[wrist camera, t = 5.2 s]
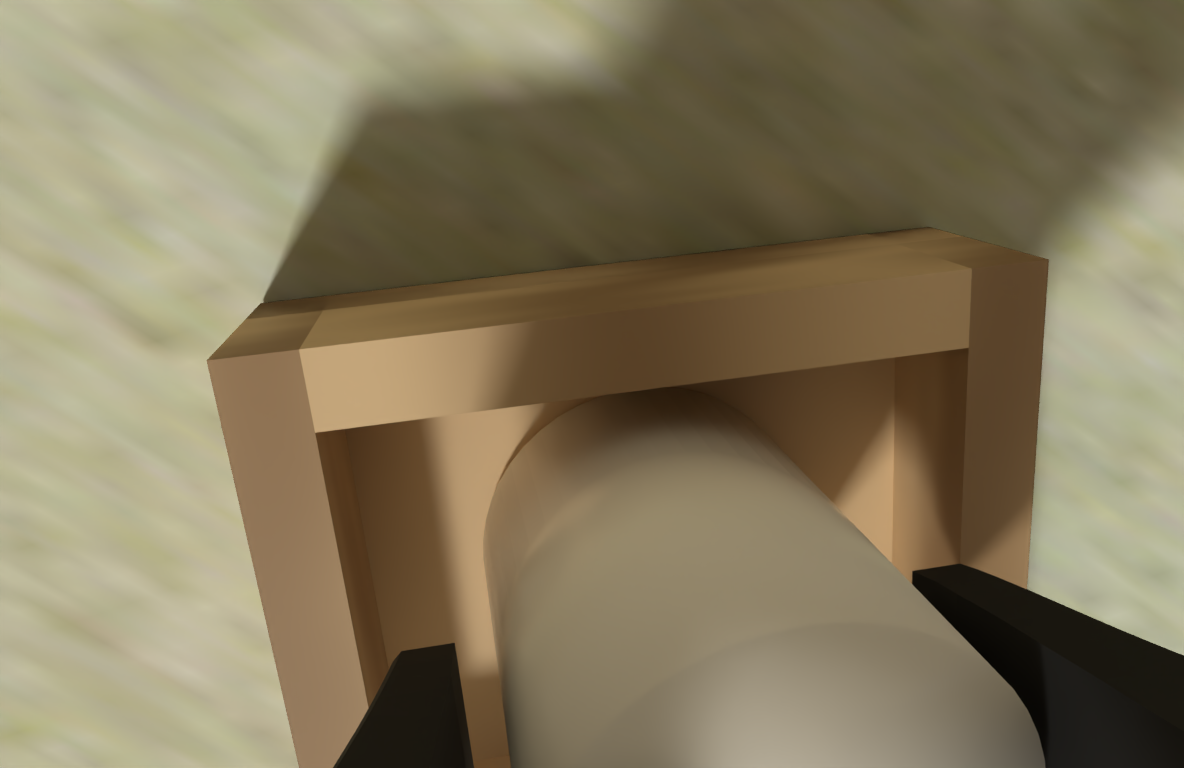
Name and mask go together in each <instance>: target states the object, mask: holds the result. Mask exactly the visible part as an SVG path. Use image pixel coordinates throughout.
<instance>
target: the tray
mask: <svg viewBox="0 0 1184 768" xmlns="http://www.w3.org/2000/svg"><path fill="white" fill-rule="evenodd" d="M1048 263H1049V259H1045V258H1041V257H1038V256H1034V255H1030V254H1027V253H1023V252H1019V251H1015V250H1012V249H1008V248H1004V247H1001V246H997V245H993V244H990V243H986V242H982V241H979V240H975V239H971V238H968V237H964V236H960V235H956V234H953V233H949V232H945V231H942V230H938V229H934V228H931V227H925V228H916V229H907V230H899V231H890V232H881V233H872V234H864V235H855V236H846V237H837V238H829V239H820V240H811V241H802V242H794V243H785V244H776V245H767V246H759V247H750V248H741V249H732V250H723V251H715V252H706V253H697V254H688V255H680V256H671V257H662V258H653V259H645V260H636V261H627V262H618V263H610V264H601V265H592V266H583V267H575V268H566V269H557V270H548V271H540V272H531V273H522V274H513V275H505V276H496V277H487V278H478V279H470V280H461V281H452V282H443V283H434V284H426V285H417V286H408V287H399V288H391V289H382V290H373V291H364V292H356V293H347V294H338V295H329V296H321V297H312V298H303V299H294V300H286V301H277V302H268V303H261V304H260V305H259V306H258V307H257V308H256V309H255V310H254V311H253V312H252V313H251V314H250V315H249V316H248V317H247V318H246V320H245V321H244V322H243V323H242V324H241V325H240V326H239V327H238V328H237V329H236V330H235V331H234V332H233V333H232V334H231V335H230V336H229V338H228V339H227V340H226V341H225V342H224V343H223V344H222V345H221V346H220V347H219V348H218V349H217V350H216V351H215V352H214V353H213V354H212V356H211V357H210V358H209V359H208V360H207V364H208V368H209V373H210V377H211V382H212V386H213V390H214V395H215V399H216V404H217V408H218V412H219V417H220V421H221V426H222V430H223V434H224V439H225V443H226V448H227V452H228V456H229V461H230V465H231V470H232V474H233V478H234V483H235V487H236V492H237V496H238V500H239V505H240V509H241V514H242V518H243V522H244V527H245V531H246V536H247V540H248V544H249V549H250V553H251V558H252V562H253V566H254V571H255V575H256V580H257V584H258V588H259V593H260V597H261V602H262V606H263V610H264V615H265V619H266V624H267V628H268V632H269V637H270V641H271V646H272V650H273V654H274V659H275V663H276V668H277V672H278V676H279V681H280V685H281V690H282V694H283V698H284V703H285V707H286V712H287V716H288V720H289V725H290V729H291V734H292V738H293V742H294V747H295V751H296V756H297V760H298V764H299V768H333V767H334V765H335V764H336V762H337V760H338V759H339V757H340V755H341V754H342V752H343V751H344V749H345V747H346V746H347V744H348V742H349V741H350V739H351V738H352V736H353V734H354V733H355V731H356V729H357V728H358V726H359V724H360V722H361V721H362V719H363V717H364V715H365V714H366V712H367V710H368V708H369V707H370V705H371V703H372V701H373V699H374V697H375V696H376V694H377V692H378V690H379V688H380V686H381V684H382V682H383V680H384V678H385V677H386V675H387V673H388V671H389V668H390V666H391V664H392V662H393V661H394V660H395V658H396V657H397V656H398V655H399V654H400V652H401V651H405V650H411V649H418V648H424V647H430V646H437V645H443V644H450V643H455V648H456V654H457V661H458V667H459V674H460V680H461V686H462V693H463V699H464V706H465V712H466V719H467V725H468V731H469V738H470V744H471V751H472V757H473V764H474V768H511V763H510V755H509V748H508V740H507V733H506V725H505V718H504V710H503V703H502V695H501V688H500V680H499V672H498V665H497V657H496V650H495V642H494V635H493V627H492V620H491V612H490V605H489V597H488V590H487V582H486V575H485V567H484V560H483V536H484V529H485V521H486V517H487V513H488V510H489V506H490V503H491V500H492V497H493V495H494V493H495V490H496V488H497V486H498V483H499V481H500V480H501V478H502V476H503V475H504V473H505V471H506V470H507V468H508V466H509V465H510V463H511V462H512V461H513V459H514V458H515V457H516V456H517V454H518V453H519V452H520V450H521V449H522V448H523V447H524V446H525V445H526V444H527V443H528V442H529V441H530V440H531V439H532V438H533V437H534V436H535V435H536V434H537V433H538V432H539V431H540V430H541V429H543V428H544V427H545V426H547V425H548V424H549V423H551V422H552V421H553V420H555V419H556V418H557V417H559V416H561V415H562V414H564V413H566V412H568V411H569V410H571V409H573V408H574V407H576V406H578V405H581V404H583V403H585V402H588V401H590V400H592V399H595V398H597V397H600V396H604V395H609V394H617V393H625V392H632V391H640V390H648V389H656V388H663V387H668V388H679V389H686V390H690V391H694V392H699V393H703V394H706V395H708V396H711V397H713V398H716V399H719V400H721V401H723V402H725V403H727V404H729V405H731V406H732V407H734V408H736V409H738V410H739V411H741V412H742V413H743V414H745V415H746V416H747V417H749V418H750V419H751V420H753V421H754V422H755V423H756V424H757V425H758V426H759V427H760V428H761V429H762V430H763V431H764V432H765V433H766V434H767V435H768V436H769V437H770V438H771V439H772V440H773V441H774V442H775V444H776V445H777V446H778V447H779V448H780V449H781V450H782V451H783V452H784V453H785V454H786V455H787V456H788V457H789V458H790V459H791V460H792V461H793V462H794V463H795V464H796V465H797V466H798V467H799V468H800V469H801V470H802V471H803V472H804V473H805V474H806V475H807V477H808V478H809V479H810V480H811V481H812V482H813V483H814V484H815V485H816V486H817V487H818V488H819V489H820V490H821V491H822V492H823V493H824V494H825V495H826V496H827V497H828V498H829V499H830V500H831V501H832V502H833V503H834V504H835V505H836V506H837V507H838V508H839V510H840V511H841V512H842V513H843V514H844V515H845V516H846V517H847V518H848V519H849V520H850V521H851V522H852V523H853V524H854V525H855V526H856V527H857V528H858V529H859V530H860V531H861V532H862V533H863V534H864V535H865V536H866V537H867V538H868V539H869V540H870V541H871V542H872V544H873V545H874V546H875V547H876V548H877V549H878V550H879V551H880V552H881V553H882V554H883V555H884V556H885V557H886V558H887V559H888V560H889V561H890V562H891V563H892V564H893V565H894V566H895V567H896V568H897V569H898V570H899V571H900V572H901V573H902V574H903V575H904V577H905V578H906V579H907V580H908V581H909V582H910V583H911V584H912V571H915V570H921V569H928V568H934V567H941V566H947V565H953V564H963V565H966V566H969V567H972V568H975V569H978V570H981V571H983V572H986V573H988V574H991V575H993V576H996V577H999V578H1001V579H1003V580H1006V581H1008V582H1010V583H1013V584H1015V585H1018V586H1020V587H1022V588H1025V589H1027V579H1028V564H1029V549H1030V534H1031V519H1032V504H1033V489H1034V473H1035V458H1036V443H1037V428H1038V413H1039V398H1040V383H1041V368H1042V353H1043V338H1044V323H1045V308H1046V293H1047V278H1048Z"/></svg>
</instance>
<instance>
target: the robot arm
mask: <svg viewBox="0 0 1184 768" xmlns="http://www.w3.org/2000/svg"><path fill="white" fill-rule="evenodd" d="M912 585H913V586H914V587H915V588H916V589H917V590H918V591H919V592H920V593H921V594H922V595H923V596H924V597H925V598H926V599H927V600H928V601H929V602H930V603H931V604H932V605H933V606H934V607H935V608H936V610H937V611H938V612H939V613H940V614H941V615H942V616H943V617H944V618H945V619H946V620H947V621H948V622H949V623H950V624H951V625H952V626H953V627H954V628H955V629H956V630H957V631H958V632H959V633H960V634H961V635H962V636H963V637H964V638H965V639H966V640H967V641H968V643H969V644H970V645H971V646H972V647H973V648H974V649H975V650H976V651H977V652H978V653H979V654H980V655H981V656H982V657H983V658H984V659H985V660H986V661H987V662H988V663H989V664H990V665H991V666H992V667H993V668H994V669H995V670H996V671H997V672H998V673H999V674H1000V675H1001V677H1002V678H1003V679H1004V680H1005V681H1006V682H1007V683H1008V684H1009V685H1010V686H1011V687H1012V688H1013V689H1014V691H1015V692H1016V694H1017V695H1018V696H1019V698H1020V699H1021V701H1022V702H1023V704H1024V705H1025V707H1026V708H1027V710H1028V712H1029V714H1030V716H1031V718H1032V721H1033V723H1034V725H1035V727H1036V730H1037V732H1038V734H1039V738H1040V742H1041V746H1042V750H1043V754H1044V758H1045V768H1184V656H1183V655H1181V654H1178V653H1176V652H1173V651H1171V650H1168V649H1166V648H1163V647H1161V646H1158V645H1156V644H1153V643H1151V642H1148V641H1146V640H1143V639H1141V638H1139V637H1136V636H1134V635H1131V634H1129V633H1127V632H1124V631H1122V630H1119V629H1117V628H1115V627H1112V626H1110V625H1108V624H1105V623H1103V622H1101V621H1098V620H1096V619H1094V618H1091V617H1089V616H1087V615H1084V614H1082V613H1080V612H1078V611H1075V610H1073V609H1071V608H1068V607H1066V606H1064V605H1061V604H1059V603H1057V602H1055V601H1052V600H1050V599H1048V598H1045V597H1043V596H1041V595H1039V594H1036V593H1034V592H1032V591H1029V590H1027V589H1025V588H1022V587H1020V586H1018V585H1015V584H1013V583H1010V582H1008V581H1006V580H1003V579H1001V578H999V577H996V576H993V575H991V574H988V573H986V572H983V571H981V570H978V569H975V568H972V567H969V566H966V565H963V564H953V565H947V566H941V567H934V568H928V569H921V570H915V571H912ZM333 768H474V764H473V757H472V751H471V744H470V738H469V731H468V725H467V719H466V712H465V706H464V699H463V693H462V686H461V680H460V674H459V667H458V661H457V654H456V648H455V643H450V644H443V645H437V646H430V647H424V648H418V649H411V650H405V651H401V652H400V654H399V655H398V656H397V657H396V658H395V660H394V661H393V662H392V664H391V666H390V668H389V671H388V673H387V675H386V677H385V678H384V680H383V682H382V684H381V686H380V688H379V690H378V692H377V694H376V696H375V697H374V699H373V701H372V703H371V705H370V707H369V708H368V710H367V712H366V714H365V715H364V717H363V719H362V721H361V722H360V724H359V726H358V728H357V729H356V731H355V733H354V734H353V736H352V738H351V739H350V741H349V742H348V744H347V746H346V747H345V749H344V751H343V752H342V754H341V755H340V757H339V759H338V760H337V762H336V764H335V765H334V767H333Z"/></svg>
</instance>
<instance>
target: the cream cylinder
mask: <svg viewBox="0 0 1184 768" xmlns="http://www.w3.org/2000/svg"><path fill="white" fill-rule="evenodd" d="M483 560H484V567H485V575H486V582H487V590H488V597H489V605H490V612H491V620H492V627H493V635H494V642H495V650H496V657H497V665H498V672H499V680H500V688H501V695H502V703H503V710H504V718H505V725H506V733H507V740H508V748H509V755H510V763H511V768H1045V758H1044V754H1043V750H1042V746H1041V742H1040V738H1039V734H1038V732H1037V730H1036V727H1035V725H1034V723H1033V721H1032V718H1031V716H1030V714H1029V712H1028V710H1027V708H1026V707H1025V705H1024V704H1023V702H1022V701H1021V699H1020V698H1019V696H1018V695H1017V694H1016V692H1015V691H1014V689H1013V688H1012V687H1011V686H1010V685H1009V684H1008V683H1007V682H1006V681H1005V680H1004V679H1003V678H1002V677H1001V675H1000V674H999V673H998V672H997V671H996V670H995V669H994V668H993V667H992V666H991V665H990V664H989V663H988V662H987V661H986V660H985V659H984V658H983V657H982V656H981V655H980V654H979V653H978V652H977V651H976V650H975V649H974V648H973V647H972V646H971V645H970V644H969V643H968V641H967V640H966V639H965V638H964V637H963V636H962V635H961V634H960V633H959V632H958V631H957V630H956V629H955V628H954V627H953V626H952V625H951V624H950V623H949V622H948V621H947V620H946V619H945V618H944V617H943V616H942V615H941V614H940V613H939V612H938V611H937V610H936V608H935V607H934V606H933V605H932V604H931V603H930V602H929V601H928V600H927V599H926V598H925V597H924V596H923V595H922V594H921V593H920V592H919V591H918V590H917V589H916V588H915V587H914V586H913V585H912V584H911V583H910V582H909V581H908V580H907V579H906V578H905V577H904V575H903V574H902V573H901V572H900V571H899V570H898V569H897V568H896V567H895V566H894V565H893V564H892V563H891V562H890V561H889V560H888V559H887V558H886V557H885V556H884V555H883V554H882V553H881V552H880V551H879V550H878V549H877V548H876V547H875V546H874V545H873V544H872V542H871V541H870V540H869V539H868V538H867V537H866V536H865V535H864V534H863V533H862V532H861V531H860V530H859V529H858V528H857V527H856V526H855V525H854V524H853V523H852V522H851V521H850V520H849V519H848V518H847V517H846V516H845V515H844V514H843V513H842V512H841V511H840V510H839V508H838V507H837V506H836V505H835V504H834V503H833V502H832V501H831V500H830V499H829V498H828V497H827V496H826V495H825V494H824V493H823V492H822V491H821V490H820V489H819V488H818V487H817V486H816V485H815V484H814V483H813V482H812V481H811V480H810V479H809V478H808V477H807V475H806V474H805V473H804V472H803V471H802V470H801V469H800V468H799V467H798V466H797V465H796V464H795V463H794V462H793V461H792V460H791V459H790V458H789V457H788V456H787V455H786V454H785V453H784V452H783V451H782V450H781V449H780V448H779V447H778V446H777V445H776V444H775V442H774V441H773V440H772V439H771V438H770V437H769V436H768V435H767V434H766V433H765V432H764V431H763V430H762V429H761V428H760V427H759V426H758V425H757V424H756V423H755V422H754V421H753V420H751V419H750V418H749V417H747V416H746V415H745V414H743V413H742V412H741V411H739V410H738V409H736V408H734V407H732V406H731V405H729V404H727V403H725V402H723V401H721V400H719V399H716V398H713V397H711V396H708V395H706V394H703V393H699V392H694V391H690V390H686V389H679V388H668V387H663V388H656V389H648V390H640V391H632V392H625V393H617V394H609V395H604V396H600V397H597V398H595V399H592V400H590V401H588V402H585V403H583V404H581V405H578V406H576V407H574V408H573V409H571V410H569V411H568V412H566V413H564V414H562V415H561V416H559V417H557V418H556V419H555V420H553V421H552V422H551V423H549V424H548V425H547V426H545V427H544V428H543V429H541V430H540V431H539V432H538V433H537V434H536V435H535V436H534V437H533V438H532V439H531V440H530V441H529V442H528V443H527V444H526V445H525V446H524V447H523V448H522V449H521V450H520V452H519V453H518V454H517V456H516V457H515V458H514V459H513V461H512V462H511V463H510V465H509V466H508V468H507V470H506V471H505V473H504V475H503V476H502V478H501V480H500V481H499V483H498V486H497V488H496V490H495V493H494V495H493V497H492V500H491V503H490V506H489V510H488V513H487V517H486V521H485V529H484V536H483Z"/></svg>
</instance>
